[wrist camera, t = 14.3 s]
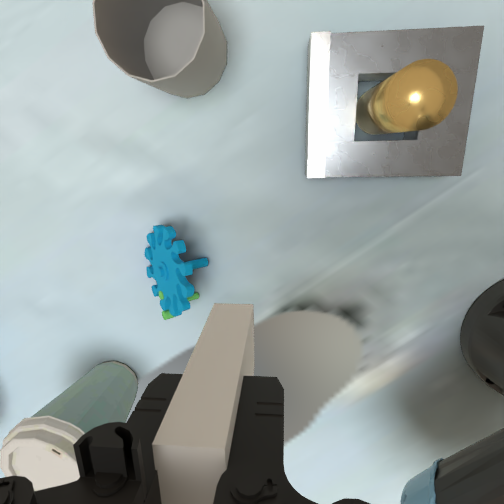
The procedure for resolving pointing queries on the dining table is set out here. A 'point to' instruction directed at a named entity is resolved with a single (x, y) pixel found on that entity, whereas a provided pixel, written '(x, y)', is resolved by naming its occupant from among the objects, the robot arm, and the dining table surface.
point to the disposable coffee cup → (67, 426)
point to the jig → (375, 69)
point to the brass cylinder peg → (409, 99)
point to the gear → (170, 271)
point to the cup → (163, 42)
